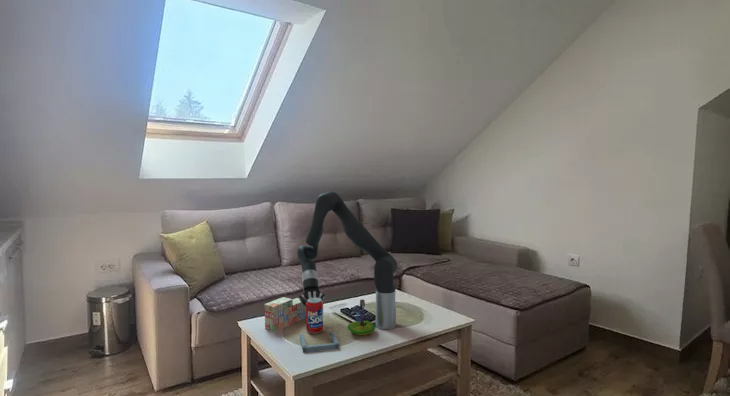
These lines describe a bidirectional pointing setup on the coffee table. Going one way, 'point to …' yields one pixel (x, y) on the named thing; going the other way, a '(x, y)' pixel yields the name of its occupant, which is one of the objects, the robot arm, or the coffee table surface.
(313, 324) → the soda can
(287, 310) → the stack of blocks
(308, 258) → the robot arm
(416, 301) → the coffee table surface
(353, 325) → the pirate figurine
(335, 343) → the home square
